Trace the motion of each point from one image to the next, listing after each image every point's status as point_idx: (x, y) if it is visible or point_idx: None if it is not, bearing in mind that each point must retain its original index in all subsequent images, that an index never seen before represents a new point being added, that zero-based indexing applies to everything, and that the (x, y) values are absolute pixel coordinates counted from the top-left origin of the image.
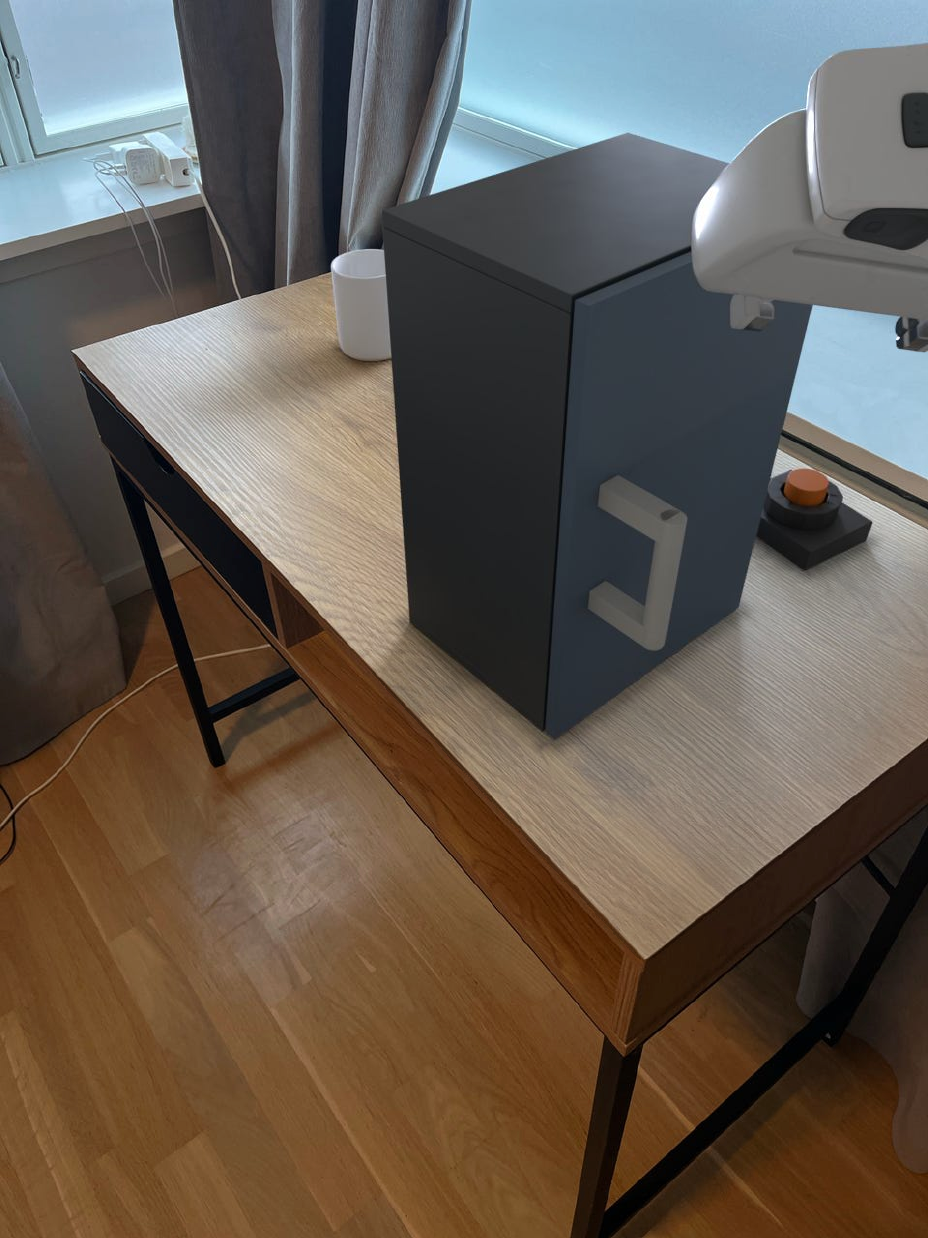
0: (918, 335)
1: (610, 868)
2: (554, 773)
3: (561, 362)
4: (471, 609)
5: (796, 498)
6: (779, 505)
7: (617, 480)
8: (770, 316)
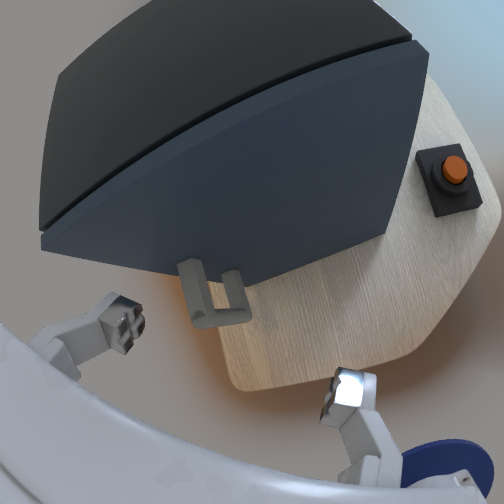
0: (320, 421)
1: (238, 357)
2: None
3: None
4: None
5: (446, 176)
6: (435, 176)
7: (187, 264)
8: (120, 352)
